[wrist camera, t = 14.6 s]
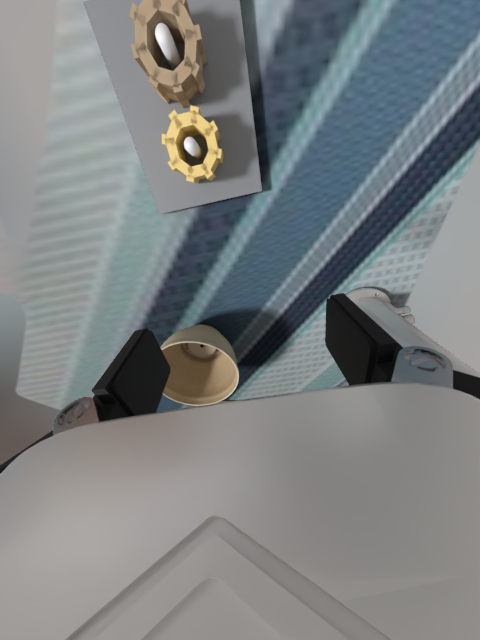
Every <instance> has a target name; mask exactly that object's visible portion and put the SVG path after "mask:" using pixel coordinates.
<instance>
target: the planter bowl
mask: <svg viewBox="0 0 480 640" xmlns="http://www.w3.org/2000/svg"><path fill="white" fill-rule="evenodd" d="M201 344H203V347H201V346H200V345H201ZM160 348H161V350H162V352H163V354H164V356H165V358H166V360H167V362H168V364H169V365H170V370H171V371H170V375H169V377H168V380H167V383H166V386H165V388H164V391H163V395H165V396H166V397H168V398H170V399H172V400H174V401H176V402H179V403H183V404H187V405H195V406H200V405H209V404H214V403H217V402H220V401H222V400H224V399H226V398H227V397H228V396H230V395H231V394H232V393H233V391H234V390H235V389H236V387H237V384H238V381H239V371H238V366H237V360H236V356H235V353H234V351H233V348H232V347H231V345H230V343H229V342H228V341H227V339H226V338H225V337H224V336H223V335H221V334H220V332H219V331H218V330H216V329H215V328H213V327H211V326H208V325H194V326H191V327H189V328H185V329H183V330H180V331H178V332H176V333H175V334H173V335H172V336H171V337H169V338H168V339H167V340H166V341H165V342H164V344H163V345H162V346H161V347H160Z"/></svg>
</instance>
